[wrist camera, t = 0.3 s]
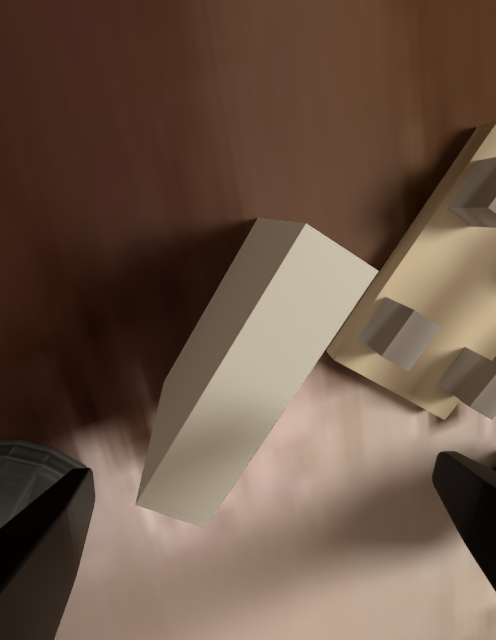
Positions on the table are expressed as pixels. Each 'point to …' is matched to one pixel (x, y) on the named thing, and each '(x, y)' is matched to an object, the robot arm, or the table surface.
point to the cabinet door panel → (246, 363)
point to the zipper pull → (28, 474)
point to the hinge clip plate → (436, 296)
